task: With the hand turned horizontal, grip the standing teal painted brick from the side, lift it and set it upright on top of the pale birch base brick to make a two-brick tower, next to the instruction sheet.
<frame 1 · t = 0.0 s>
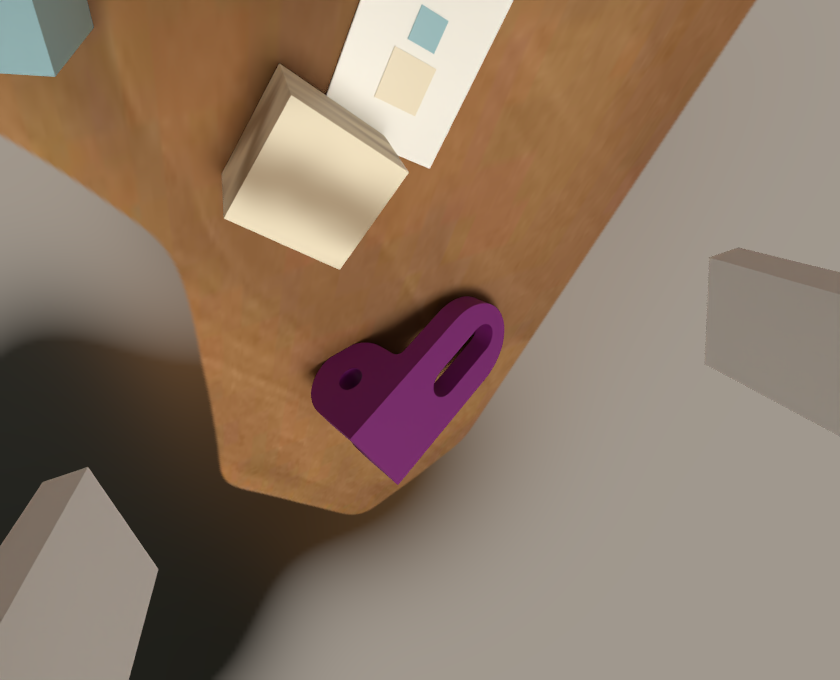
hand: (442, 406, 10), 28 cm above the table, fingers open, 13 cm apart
instruction sheet: (414, 58, 32), on the table
birch base brick: (304, 154, 33), on the table, touching instruction sheet
mounting bracket: (410, 349, 50), on the table
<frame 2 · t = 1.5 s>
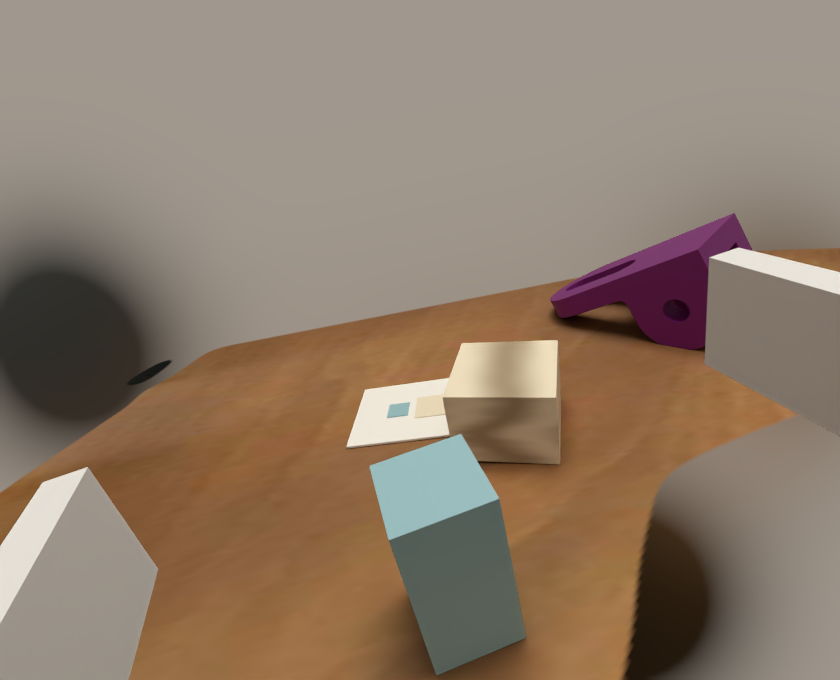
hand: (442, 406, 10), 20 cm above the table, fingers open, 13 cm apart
instruction sheet: (417, 409, 46), on the table
birch base brick: (510, 428, 40), on the table, touching instruction sheet
teal brick: (465, 613, 27), on the table
mounting bracket: (637, 320, 52), on the table
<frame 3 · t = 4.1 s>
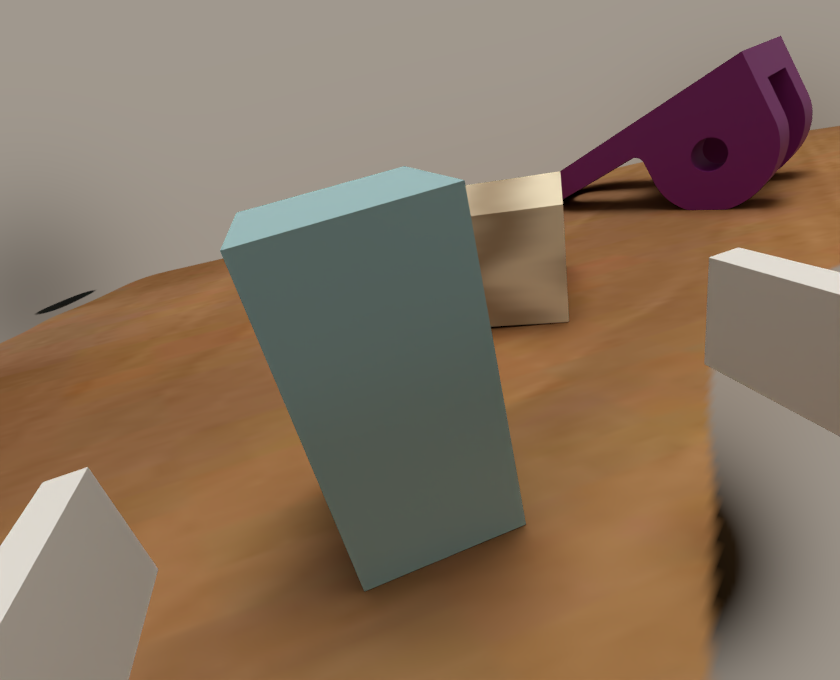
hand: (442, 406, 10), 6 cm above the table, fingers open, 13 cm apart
birch base brick: (497, 296, 29), on the table, touching instruction sheet
teal brick: (423, 498, 16), on the table
mounting bracket: (654, 198, 42), on the table
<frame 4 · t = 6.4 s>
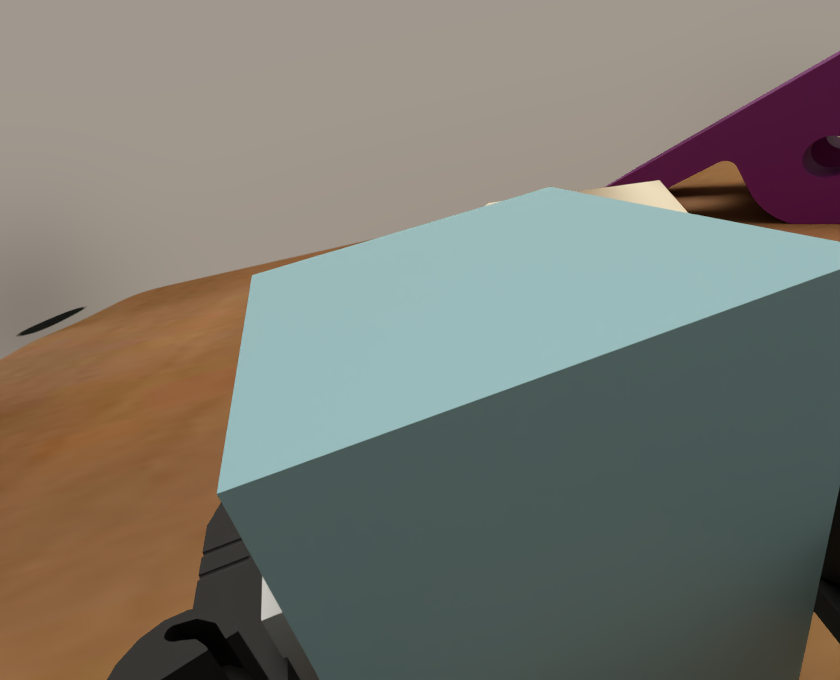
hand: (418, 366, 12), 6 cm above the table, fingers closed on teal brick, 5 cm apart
birch base brick: (576, 339, 23), on the table, touching instruction sheet
mounting bracket: (734, 208, 36), on the table
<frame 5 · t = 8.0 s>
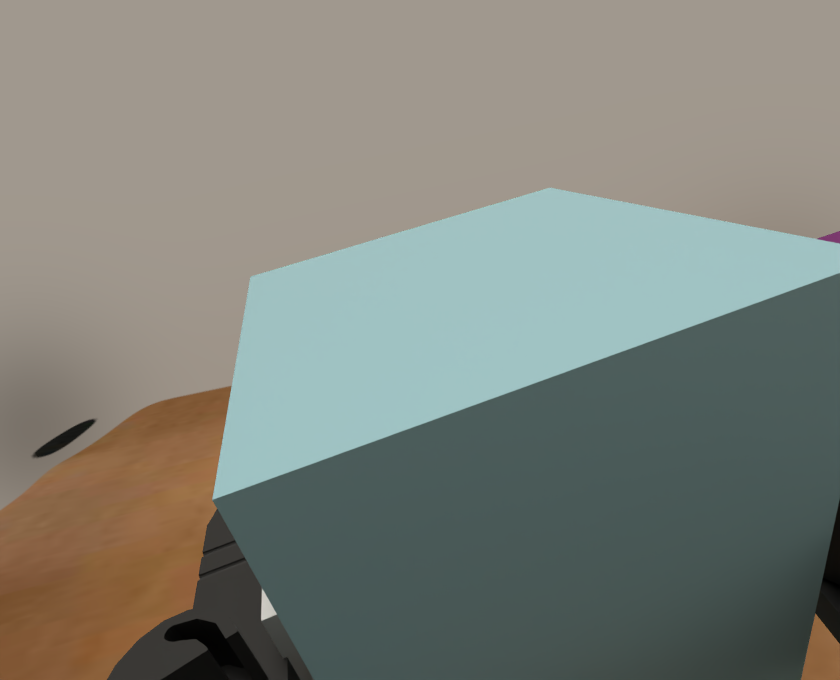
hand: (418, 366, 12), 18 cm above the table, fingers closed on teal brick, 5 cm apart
when the fingers open (13 cm above the table, at t = 10.1 s): teal brick stays where it is, resting on birch base brick.
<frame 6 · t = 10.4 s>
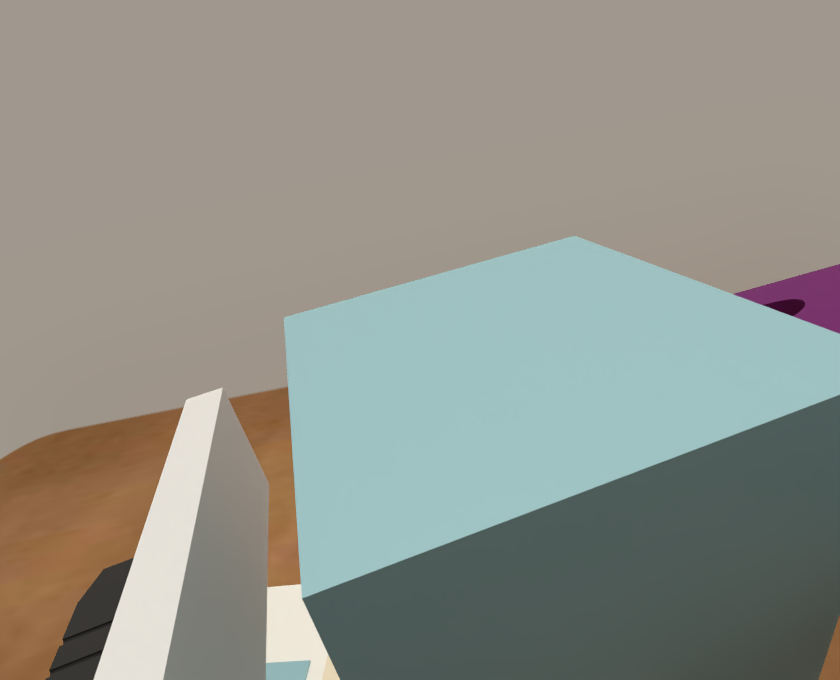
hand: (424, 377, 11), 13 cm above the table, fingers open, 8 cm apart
mounting bracket: (794, 420, 25), on the table
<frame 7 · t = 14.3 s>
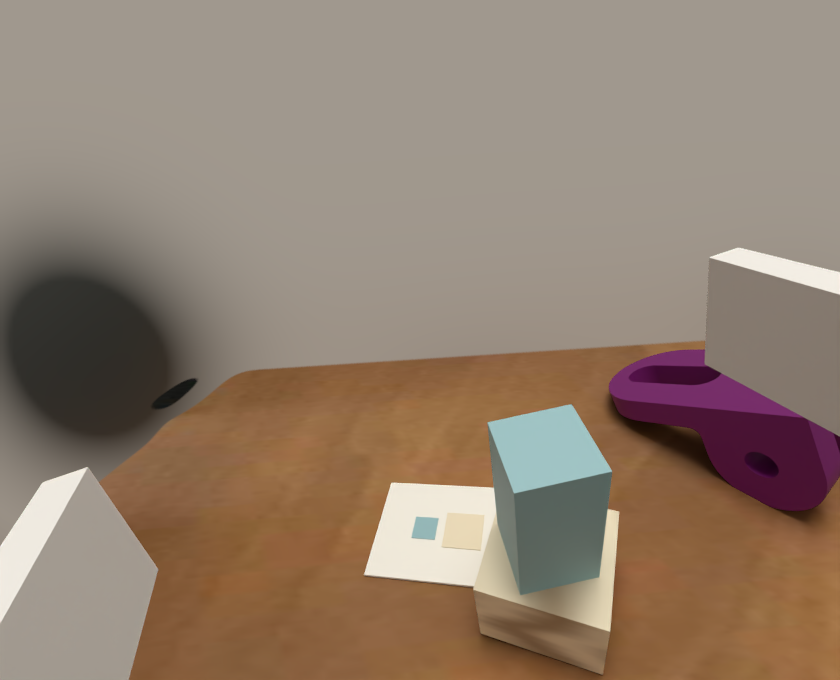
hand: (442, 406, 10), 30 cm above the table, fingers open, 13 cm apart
instruction sheet: (446, 531, 41), on the table
birch base brick: (549, 595, 35), on the table, touching instruction sheet, teal brick
teal brick: (545, 549, 32), point 6 cm above the table, touching birch base brick
mounting bracket: (709, 432, 45), on the table
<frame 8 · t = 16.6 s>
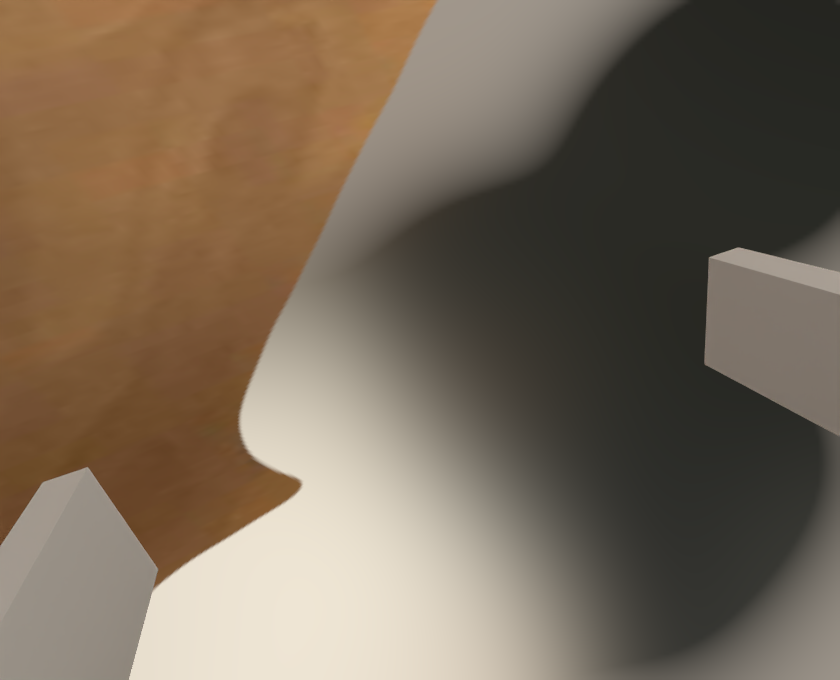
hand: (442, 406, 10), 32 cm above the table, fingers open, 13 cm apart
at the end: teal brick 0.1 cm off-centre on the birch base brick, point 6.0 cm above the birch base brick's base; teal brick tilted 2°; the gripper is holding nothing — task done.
